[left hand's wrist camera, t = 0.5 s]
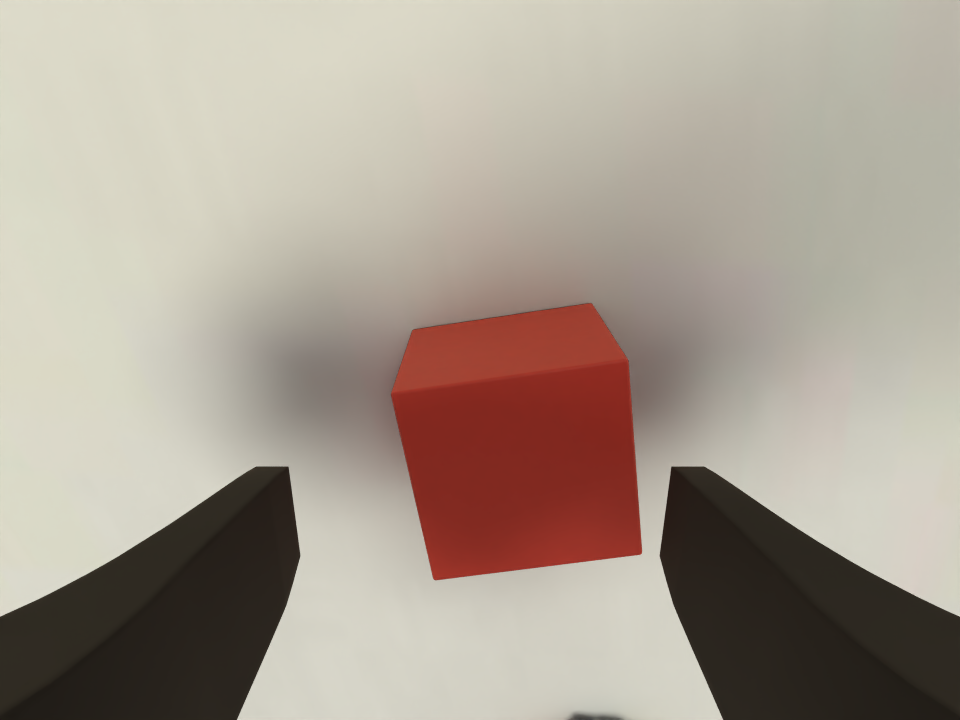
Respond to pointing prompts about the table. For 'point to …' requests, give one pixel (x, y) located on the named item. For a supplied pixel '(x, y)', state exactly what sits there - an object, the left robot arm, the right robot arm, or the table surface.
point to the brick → (519, 442)
